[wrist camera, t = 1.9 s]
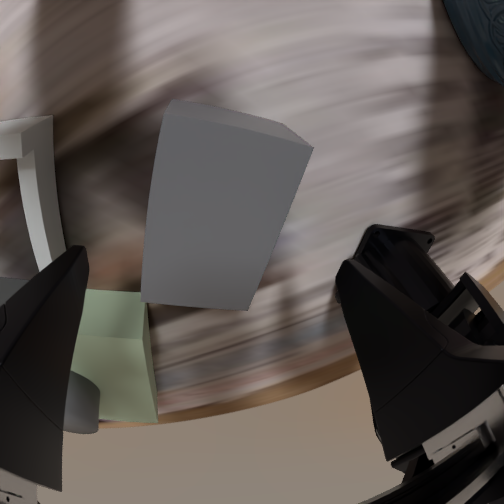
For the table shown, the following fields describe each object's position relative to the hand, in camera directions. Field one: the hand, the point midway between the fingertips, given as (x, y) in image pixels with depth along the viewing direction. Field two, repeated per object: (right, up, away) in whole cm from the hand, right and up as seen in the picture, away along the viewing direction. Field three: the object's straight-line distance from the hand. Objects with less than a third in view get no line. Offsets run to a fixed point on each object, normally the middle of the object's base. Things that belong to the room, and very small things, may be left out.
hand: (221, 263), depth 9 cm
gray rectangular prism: (-1, +3, +4) cm, 6 cm away
